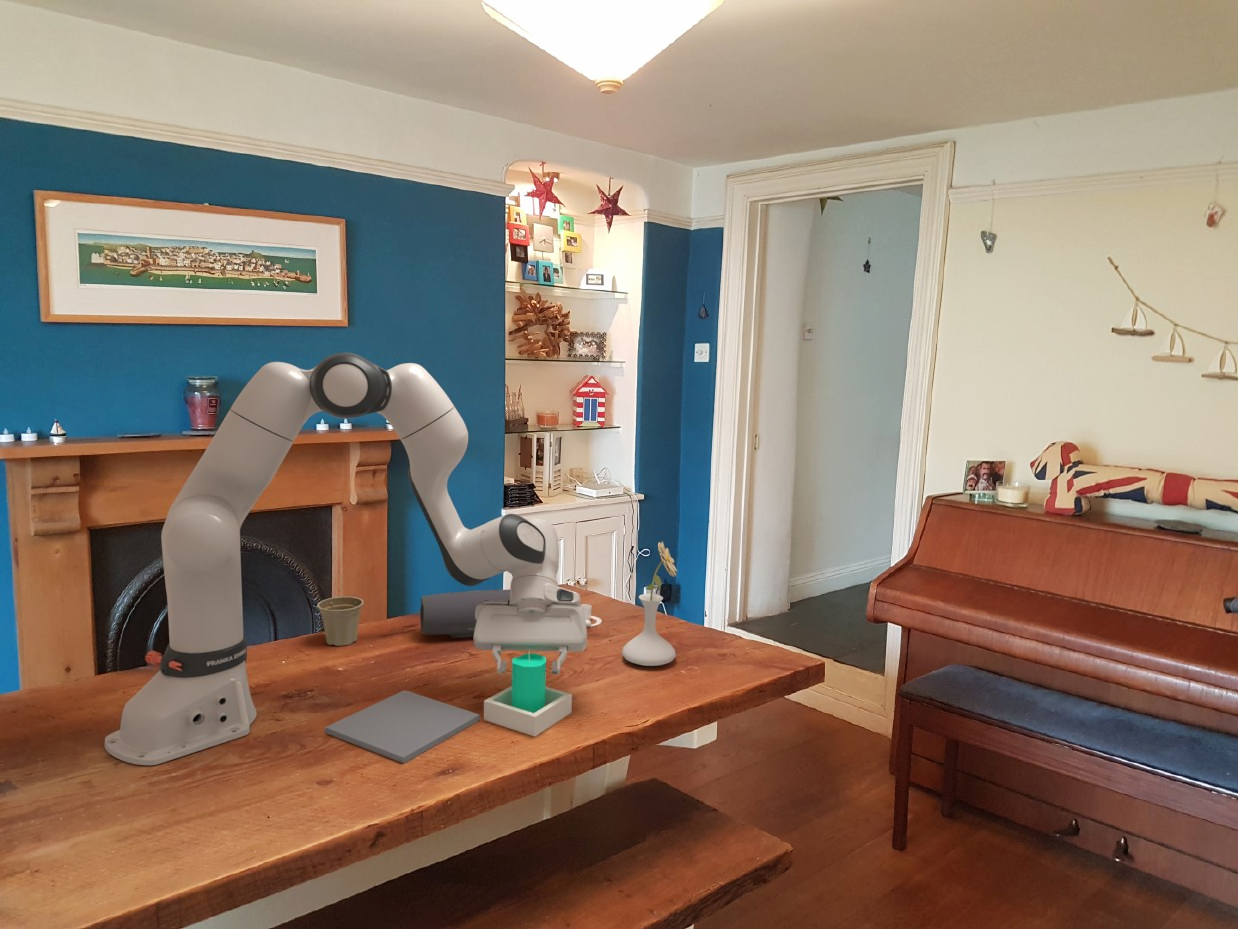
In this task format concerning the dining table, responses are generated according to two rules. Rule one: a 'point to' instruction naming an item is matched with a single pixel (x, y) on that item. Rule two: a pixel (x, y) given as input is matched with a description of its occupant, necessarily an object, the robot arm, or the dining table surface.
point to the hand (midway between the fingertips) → (528, 672)
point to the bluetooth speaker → (455, 611)
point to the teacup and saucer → (589, 615)
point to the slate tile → (402, 725)
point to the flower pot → (340, 619)
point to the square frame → (524, 721)
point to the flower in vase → (652, 625)
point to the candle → (528, 682)
